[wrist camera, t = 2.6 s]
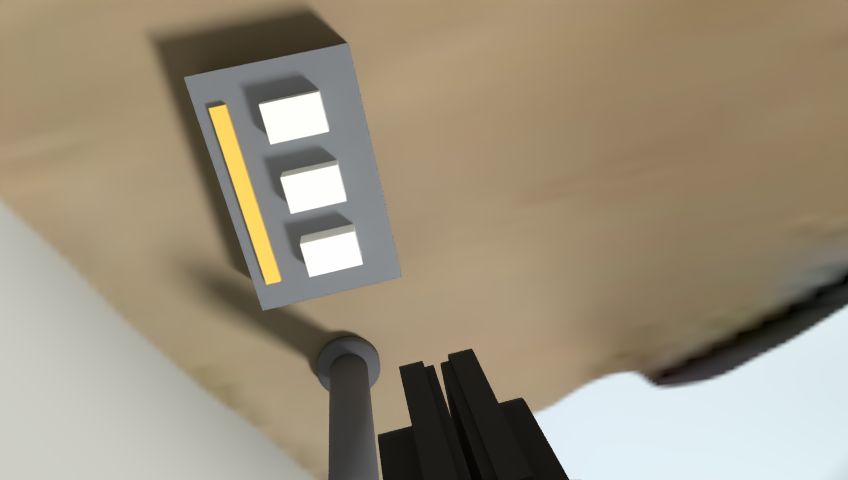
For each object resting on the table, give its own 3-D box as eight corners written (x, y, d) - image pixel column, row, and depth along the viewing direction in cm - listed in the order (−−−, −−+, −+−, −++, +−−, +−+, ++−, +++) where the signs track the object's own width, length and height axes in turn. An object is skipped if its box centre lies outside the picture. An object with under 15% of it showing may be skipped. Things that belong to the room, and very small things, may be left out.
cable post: (311, 343, 44) (301, 470, 31) (373, 330, 45) (389, 450, 32) (324, 394, 46) (320, 535, 33) (384, 382, 46) (403, 516, 33)
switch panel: (198, 73, 37) (176, 79, 32) (347, 42, 38) (349, 43, 32) (268, 287, 43) (259, 321, 37) (396, 256, 43) (404, 286, 38)
